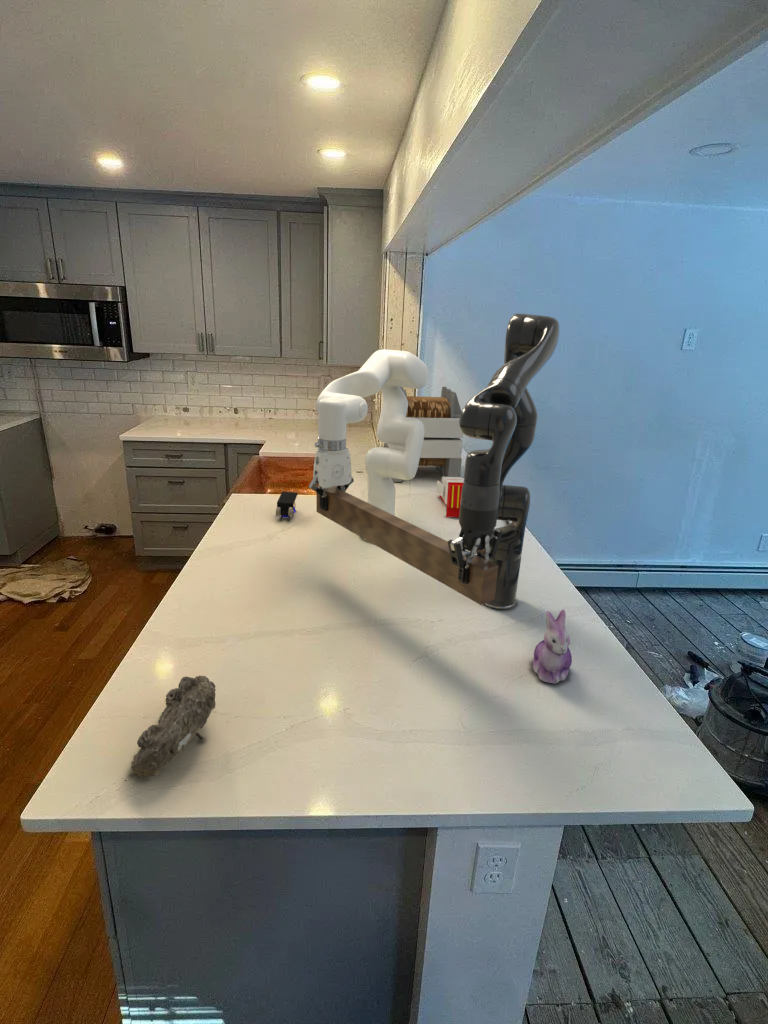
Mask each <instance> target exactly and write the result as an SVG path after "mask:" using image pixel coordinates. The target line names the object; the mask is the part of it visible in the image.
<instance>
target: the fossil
mask: <svg viewBox="0 0 768 1024" xmlns="http://www.w3.org/2000/svg"><path fill="white" fill-rule="evenodd" d="M216 686H217V685H215V682H213V681H211V680H210V679H209V678H208V677H207V676H206V675H196V676H195V677H191V676H183V677H182V678H180V681H179V683H178V687H175V688H171V689H170V690H169V691H168V692H167V693H166V695H165V706H166V707H165V708H164V709H163V711H162V712H161V715H160V716H159V718H158V721H157V723H158V724H157V725H156V724H151V725H150V726H148V728H147V729H145V730H144V731H142V733H141V735H140V736H139V737H138V739H137V742H136V744H137V746H138V748H139V750H138V751H137V753H136V754H134V755H133V761H132V762H131V766H130V768H131V770H132V774H134V775H137V776H139V777H141V778H142V777H147V776H158V775H159V774H161V772H163V770H164V769H165V768H166V767H167V766H169V765H170V764H171V763H172V762H173V761H174V760H175V759H176V758H177V757H178V756H179V755H180V754H181V753H182V752H183V751H185V748H187V746H188V743H190V742H191V741H192V740H193V738H195V736H196V737H197V738H198V739H199V740H200V741H202V740H204V737H203V735H201V734H200V733H199V732H198V731H199V729H203V728H204V726H205V725H206V723H207V722H208V719H209V717H210V715H211V714H212V711H213V710H214V709H215V708H216V690H217V689H216Z"/></svg>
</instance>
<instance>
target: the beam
mask: <svg viewBox="0 0 768 1024" xmlns="http://www.w3.org/2000/svg"><path fill="white" fill-rule="evenodd" d="M316 486H317V487H318V488H319V485H316ZM326 497H328V511H324V510H323V509H321V508H320V496H319V495H318V494H317V493H316V513H318V514H319V515H321V516H323V517H324V518H326V519H328V520H329V521H331V522H334V523H335V524H337V525H338V526H341V527H343V528H344V529H346V530H348V531H349V532H351V533H353V534H355V535H357V536H358V537H359V538H362V539H363V540H364V539H365V540H364V541H366V540H367V541H366V542H368V541H369V542H368V543H370V544H372V545H374V546H375V547H377V548H380V549H381V550H383V551H384V552H386V553H388V554H390V555H392V556H393V557H395V558H398V560H400V561H402V562H404V563H405V564H408V565H410V566H411V567H413V568H415V569H417V570H418V571H420V572H422V573H424V574H425V575H427V576H429V577H431V578H433V579H434V580H436V581H438V582H439V583H441V584H443V585H445V586H446V587H448V588H450V589H452V590H453V591H455V592H457V593H459V594H460V595H462V596H464V597H466V598H468V599H469V600H471V601H473V602H475V603H476V604H478V605H480V606H482V605H485V604H484V603H487V602H490V601H492V600H494V598H495V590H496V581H497V573H498V565H496V564H494V563H492V562H490V561H487V560H485V559H483V558H481V557H479V556H477V554H475V557H474V558H473V559H472V561H471V564H470V567H469V568H470V572H469V582H468V584H465V585H464V584H463V583H461V582H459V580H458V570H459V567H457V566H456V565H454V564H452V563H451V558H450V552H449V547H448V541H449V540H446V539H444V538H442V537H440V536H438V535H436V534H434V533H431V532H429V531H427V530H426V529H424V528H421V527H419V526H417V525H415V524H413V523H411V522H408V521H406V520H404V519H402V518H400V517H398V516H396V515H395V514H394V515H392V514H390V513H388V512H386V511H384V510H382V509H379V508H377V507H375V506H373V505H371V504H369V503H367V501H365V500H363V499H361V498H358V497H356V496H354V495H352V494H350V493H348V492H347V491H346V492H344V491H342V490H340V489H338V488H336V487H331V488H328V491H327V496H326ZM465 550H466V549H465ZM466 551H467V552H469V553H470V551H468V550H466ZM464 561H465V562H466V556H465V558H464Z"/></svg>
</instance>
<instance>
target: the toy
mask: <svg viewBox="0 0 768 1024" xmlns="http://www.w3.org/2000/svg"><path fill="white" fill-rule="evenodd" d="M463 483H464V477H462V476H460V477H444V476H441V481H440V480H437V481H436V490H435V491H436V492H437V493H438V494H439V495H438V497H439V499H441V500H442V502H444V503H445V505H446V513H445V517H446V518H459V514H460V503H461V492H462V487H463Z"/></svg>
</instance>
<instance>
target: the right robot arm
mask: <svg viewBox="0 0 768 1024" xmlns="http://www.w3.org/2000/svg"><path fill="white" fill-rule="evenodd" d="M559 338H560V323H559V320H558V319H557V318H555V317H552V316H548V315H538V314H530V313H514V314H513V315H512V316H511V317H510V319H509V320H508V323H507V327H506V332H505V342H504V354H503V355H504V357H503V365H501V366H500V367H499V368H498V369H496V372H495V373H494V374H493V375H492V377H491V379H490V380H489V383H488V384H487V385H486V387H484V388H483V389H481V390H480V391H478V392H477V394H475V395H474V396H472V397H471V398H470V399H469V400H467V402H466V403H465V405H464V406H463V408H462V409H461V414H460V418H459V425H460V429H461V431H462V433H463V436H466V437H468V438H471V439H476V440H483V441H491V442H492V443H491V447H490V448H486V449H475V450H471V451H469V452H468V453H467V454H466V456H465V462H464V475H463V476H464V477H463V478H464V483H463V487H462V492H461V503H460V514H459V517H458V523H459V526H460V531H459V534H458V537H457V538H456V539H454V540H453V539H452V538H451V539H449V540H447V541H448V547H449V552H450V558H451V563H452V564H454V565H456V566H457V567H459V570H458V580H459V582H461V583H463V584H464V585H465V584H468V582H469V572H470V568H469V567H470V564H471V561H472V559H473V558H474V557H475V555H477V556H479V557H481V558H483V559H485V560H487V561H490V562H492V563H494V564H496V565H498V573H497V581H496V590H495V598H494V600H492V601H490V602H487V603H484V604H483V605H485V606H487V607H489V608H491V609H496V610H509V609H512V608H513V607H515V606H516V599H517V593H518V584H519V576H520V569H521V562H522V561H521V560H522V554H523V547H524V539H525V533H526V526H527V521H528V518H529V517H528V516H529V512H530V506H531V492H530V489H529V488H528V487H526V486H521V485H510V484H504V483H505V480H506V477H507V475H508V474H509V472H510V470H511V469H512V468H513V466H515V464H516V463H517V462H519V460H520V459H521V458H522V457H523V456H524V455H525V454H526V452H527V451H528V450H529V449H530V447H531V446H532V445H533V443H534V440H535V436H536V430H537V425H538V424H537V423H538V409H537V407H536V404H535V402H534V400H533V397H532V395H531V393H530V391H529V390H528V386H529V384H530V383H531V381H533V379H534V378H535V376H536V375H537V374H538V373H539V372H540V371H541V370H542V369H543V367H544V366H546V364H547V363H548V362H549V361H550V359H551V357H553V354H554V353H555V351H556V349H557V346H558V344H559V340H560V339H559ZM497 521H502V522H503V521H505V522H506V525H504V526H500V527H496V526H497ZM466 550H467V551H469V552H470V553H469V552H467V551H466ZM465 556H466V562H465V561H464V558H465Z"/></svg>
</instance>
